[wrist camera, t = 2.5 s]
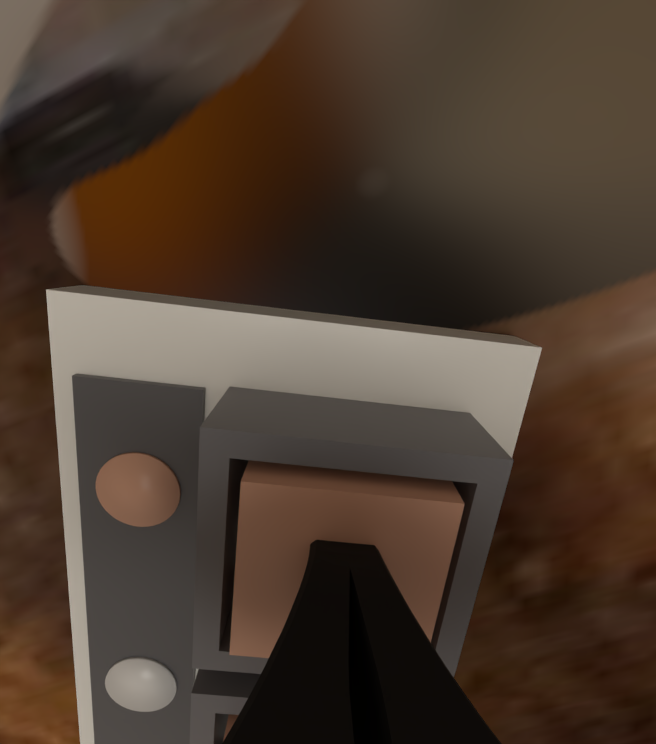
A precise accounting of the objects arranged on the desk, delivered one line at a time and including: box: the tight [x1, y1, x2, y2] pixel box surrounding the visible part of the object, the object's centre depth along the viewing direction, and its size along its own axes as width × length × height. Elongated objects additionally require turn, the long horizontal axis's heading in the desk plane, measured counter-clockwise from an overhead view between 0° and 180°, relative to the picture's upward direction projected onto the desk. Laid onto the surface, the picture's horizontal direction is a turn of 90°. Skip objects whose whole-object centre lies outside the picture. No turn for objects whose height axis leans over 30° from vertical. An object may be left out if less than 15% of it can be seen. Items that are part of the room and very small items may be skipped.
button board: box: [46, 285, 542, 744], centre depth 12 cm, size 24×12×4 cm, turn 173°
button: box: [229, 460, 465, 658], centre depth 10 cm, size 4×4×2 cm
